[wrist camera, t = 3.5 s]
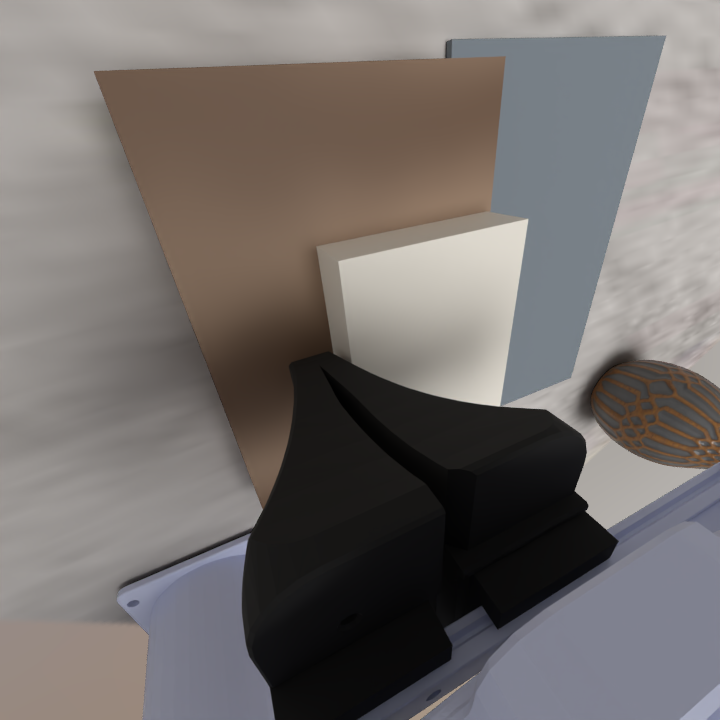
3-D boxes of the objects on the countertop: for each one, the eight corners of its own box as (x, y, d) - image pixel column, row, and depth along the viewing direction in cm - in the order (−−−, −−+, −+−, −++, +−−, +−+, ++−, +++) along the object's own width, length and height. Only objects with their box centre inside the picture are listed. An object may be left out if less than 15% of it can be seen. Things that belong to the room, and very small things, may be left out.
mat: (567, 375, 25) (570, 377, 25) (435, 428, 22) (438, 431, 21) (658, 37, 15) (666, 35, 15) (446, 41, 12) (452, 39, 12)
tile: (469, 398, 16) (497, 422, 15) (348, 445, 14) (366, 478, 13) (486, 211, 12) (528, 219, 10) (316, 246, 10) (338, 261, 9)
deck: (428, 418, 21) (465, 458, 18) (261, 483, 18) (275, 542, 15) (434, 79, 12) (505, 56, 10) (120, 96, 10) (93, 70, 7)
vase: (622, 408, 31) (750, 480, 24) (566, 430, 29) (689, 518, 22) (653, 338, 27) (813, 399, 20) (592, 357, 25) (749, 433, 18)
